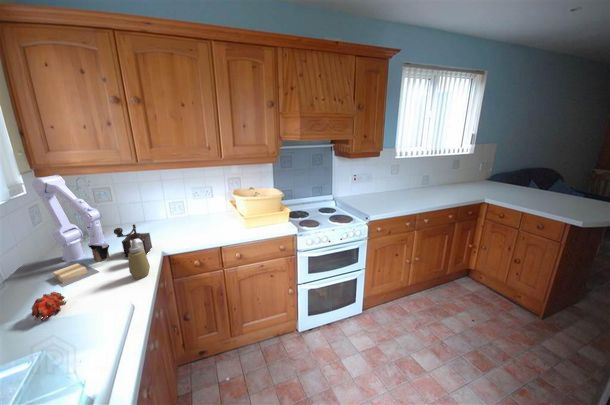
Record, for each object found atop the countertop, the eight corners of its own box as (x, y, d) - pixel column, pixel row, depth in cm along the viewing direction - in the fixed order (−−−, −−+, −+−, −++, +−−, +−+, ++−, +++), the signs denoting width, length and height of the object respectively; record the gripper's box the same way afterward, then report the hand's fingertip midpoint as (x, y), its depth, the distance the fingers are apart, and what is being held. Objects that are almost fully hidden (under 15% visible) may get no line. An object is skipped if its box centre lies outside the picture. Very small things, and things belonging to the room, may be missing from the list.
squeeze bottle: (138, 271, 124) (130, 236, 119) (155, 271, 124) (148, 236, 119) (126, 280, 116) (118, 243, 111) (144, 280, 116) (136, 243, 111)
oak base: (54, 277, 118) (53, 272, 118) (78, 268, 126) (77, 263, 125) (63, 283, 114) (61, 277, 113) (87, 273, 122) (86, 267, 121)
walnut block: (94, 260, 135) (91, 250, 133) (105, 256, 139) (102, 246, 137) (99, 263, 132) (96, 252, 131) (110, 258, 136) (107, 248, 135)
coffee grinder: (131, 249, 147) (125, 219, 142) (152, 247, 149) (147, 217, 144) (118, 262, 132) (110, 230, 127) (142, 260, 135) (135, 227, 130)
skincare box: (147, 262, 132) (143, 240, 128) (137, 266, 129) (132, 243, 125) (143, 258, 136) (139, 237, 132) (134, 262, 133) (129, 240, 129)
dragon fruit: (65, 305, 103) (47, 331, 92) (38, 299, 99) (17, 325, 88) (74, 290, 101) (57, 313, 91) (48, 283, 97) (27, 307, 87)
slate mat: (46, 277, 120) (45, 276, 120) (82, 264, 132) (82, 262, 131) (62, 288, 111) (62, 287, 111) (100, 273, 123) (99, 271, 123)
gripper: (79, 233, 131) (86, 257, 135) (93, 238, 125) (99, 264, 128) (95, 228, 137) (101, 252, 141) (109, 233, 130) (115, 258, 134)
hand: (101, 257), depth 135 cm, fingers closed on walnut block, 5 cm apart
